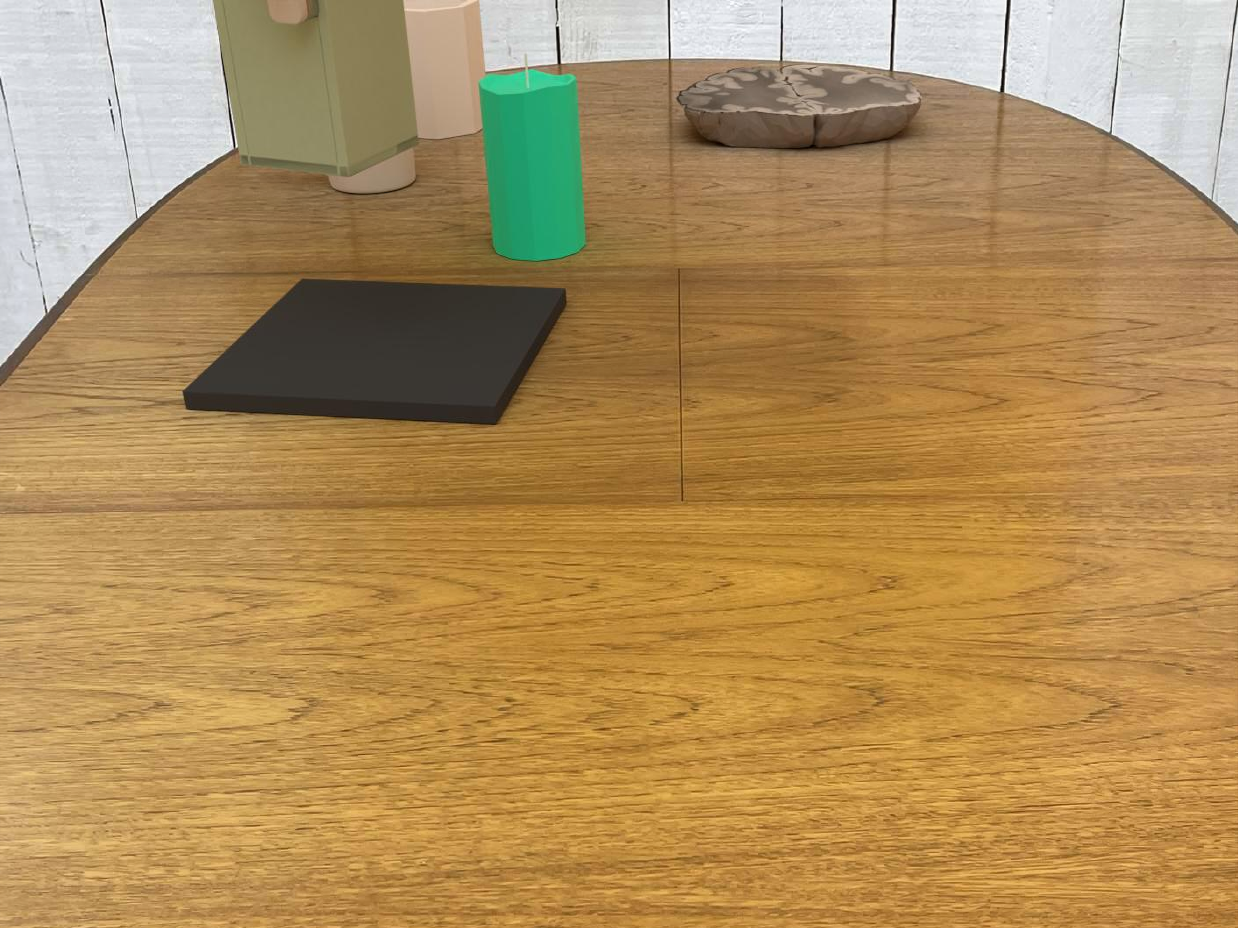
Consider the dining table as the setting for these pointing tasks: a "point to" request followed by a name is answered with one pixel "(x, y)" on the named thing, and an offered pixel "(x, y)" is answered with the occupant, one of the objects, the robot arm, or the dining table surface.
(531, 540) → the dining table surface
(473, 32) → the mug
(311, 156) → the green box
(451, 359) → the mat
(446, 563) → the dining table surface
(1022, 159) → the dining table surface
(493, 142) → the candle
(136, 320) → the dining table surface
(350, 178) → the mug
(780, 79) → the brain slice
